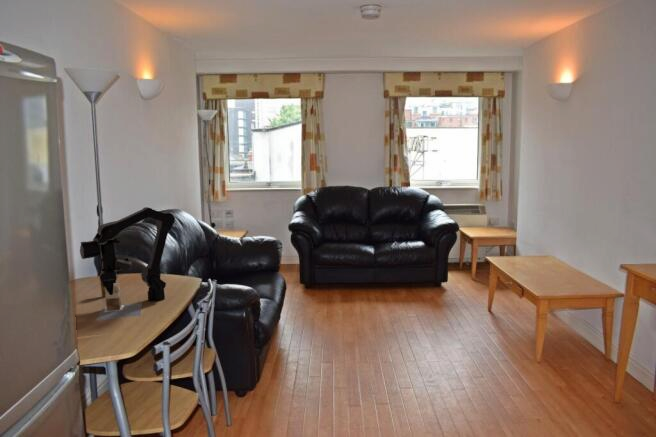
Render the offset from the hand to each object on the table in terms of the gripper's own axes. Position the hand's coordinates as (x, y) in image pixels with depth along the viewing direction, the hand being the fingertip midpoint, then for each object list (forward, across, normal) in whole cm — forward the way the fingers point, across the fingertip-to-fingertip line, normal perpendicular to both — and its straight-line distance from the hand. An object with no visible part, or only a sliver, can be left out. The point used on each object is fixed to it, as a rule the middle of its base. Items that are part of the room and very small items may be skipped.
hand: (112, 291), depth 225 cm
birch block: (+2, 0, 0) cm, 2 cm away
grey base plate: (+8, -5, -3) cm, 10 cm away
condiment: (+8, +25, +5) cm, 27 cm away
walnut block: (+7, 0, 0) cm, 7 cm away
